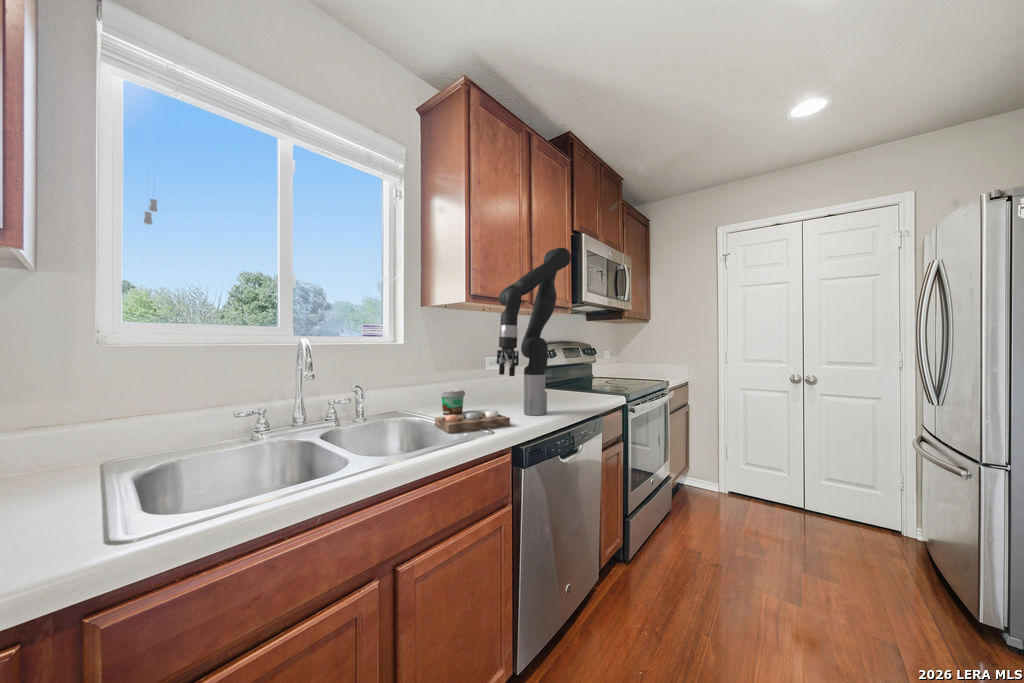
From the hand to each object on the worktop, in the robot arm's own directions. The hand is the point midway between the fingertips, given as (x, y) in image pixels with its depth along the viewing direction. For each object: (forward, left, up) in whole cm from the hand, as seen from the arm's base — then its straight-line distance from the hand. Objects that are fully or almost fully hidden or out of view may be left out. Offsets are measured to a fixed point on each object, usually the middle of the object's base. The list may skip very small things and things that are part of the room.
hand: (506, 375), depth 159 cm
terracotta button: (+27, +9, -16) cm, 33 cm away
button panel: (+19, +9, -17) cm, 27 cm away
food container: (+16, -16, -18) cm, 29 cm away
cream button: (+11, +9, -16) cm, 21 cm away
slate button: (+19, +9, -16) cm, 26 cm away
